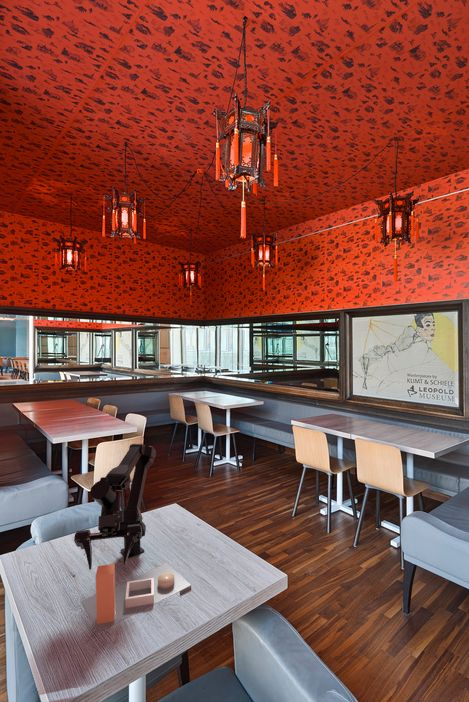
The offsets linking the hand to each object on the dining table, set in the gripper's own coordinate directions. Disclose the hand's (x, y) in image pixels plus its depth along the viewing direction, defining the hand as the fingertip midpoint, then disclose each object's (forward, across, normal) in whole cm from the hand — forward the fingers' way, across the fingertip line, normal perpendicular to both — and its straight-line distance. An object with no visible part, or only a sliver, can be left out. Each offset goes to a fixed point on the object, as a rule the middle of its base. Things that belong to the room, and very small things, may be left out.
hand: (107, 567), depth 105 cm
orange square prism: (+11, 0, +4) cm, 12 cm away
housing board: (+6, +8, +10) cm, 14 cm away
